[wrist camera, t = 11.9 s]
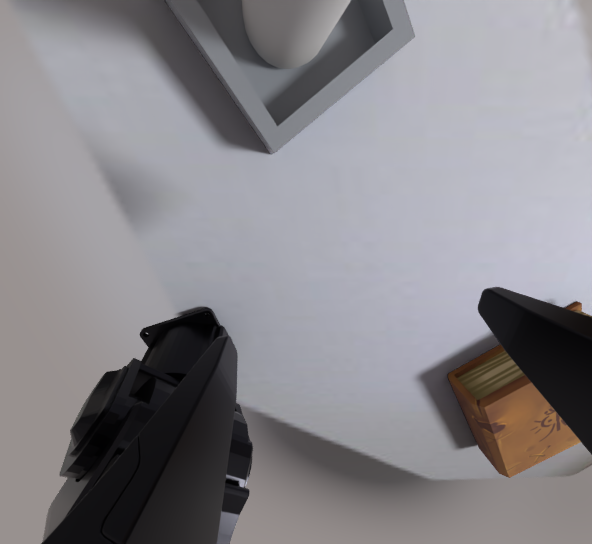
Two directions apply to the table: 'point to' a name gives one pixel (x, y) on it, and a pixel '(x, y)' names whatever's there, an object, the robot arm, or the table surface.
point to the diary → (509, 412)
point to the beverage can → (290, 28)
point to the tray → (297, 81)
